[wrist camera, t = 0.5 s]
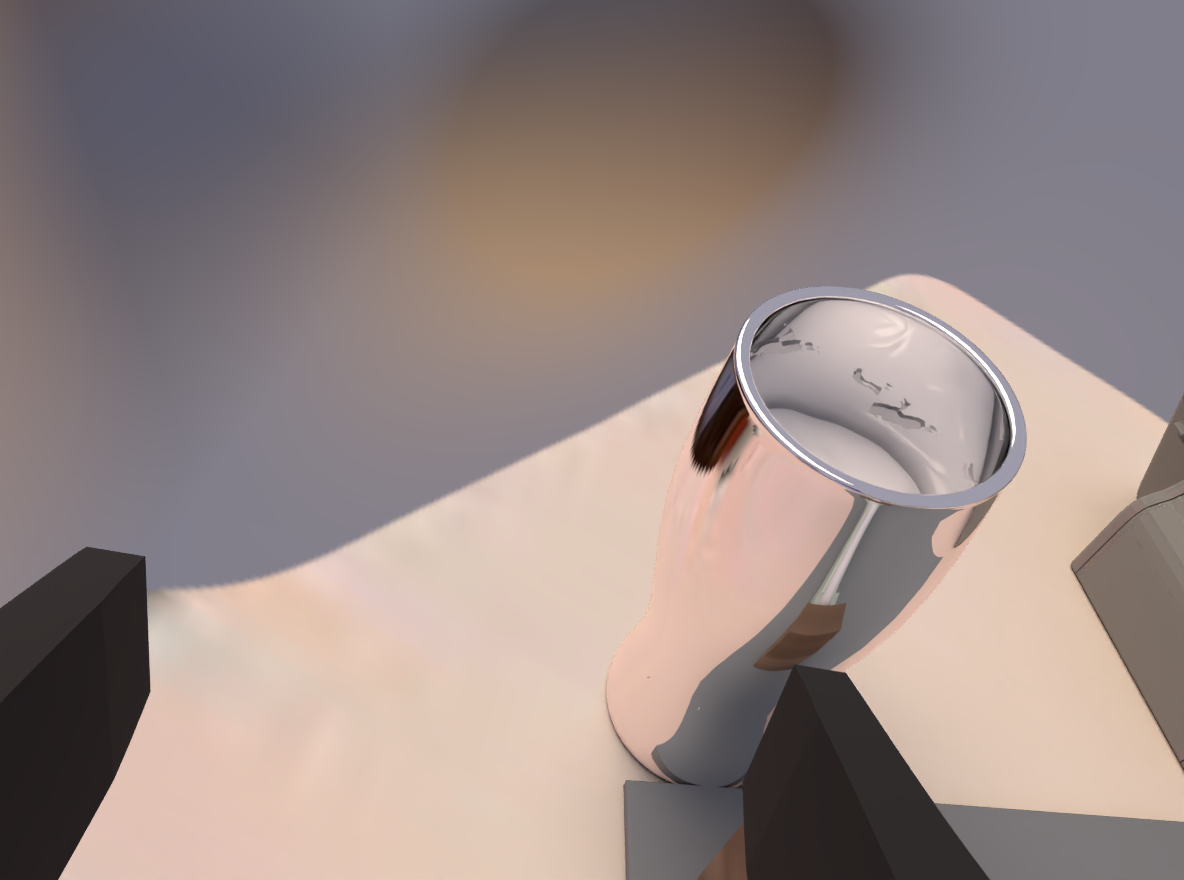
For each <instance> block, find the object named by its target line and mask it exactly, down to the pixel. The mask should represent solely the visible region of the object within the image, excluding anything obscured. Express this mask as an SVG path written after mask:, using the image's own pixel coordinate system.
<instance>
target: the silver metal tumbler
mask: <svg viewBox="0 0 1184 880" xmlns="http://www.w3.org/2000/svg"><path fill="white" fill-rule="evenodd" d="M1026 443H1027V434H1026V426H1025V421H1024V416H1023V413H1022V410H1021V407H1020V404H1019V402H1018V400H1017V398H1016V396H1015V394H1014V392H1013V390H1012V388H1011V387H1010V385H1009V383H1008V382H1007V380H1006V379H1005V377H1004V376H1003V375H1002V373H1001V372H1000V371H999V369H998V368H997V367H996V366H995V365H994V364H993V362H992V361H991V360H990V359H989V358H988V357H987V356H986V355H985V354H984V353H983V352H982V351H981V350H980V349H979V348H978V347H977V346H976V345H974V344H973V343H972V342H971V341H970V340H968V339H967V338H966V337H965V336H963V335H962V334H961V333H959V332H958V331H957V330H955V329H954V328H952V327H951V326H949V325H948V324H946V323H945V322H943V321H941V320H940V319H938V318H936V317H935V316H933V315H931V314H929V313H927V312H925V311H923V310H921V309H919V308H917V307H915V306H913V305H910V304H908V303H906V302H903V301H901V300H898V299H895V298H892V297H889V296H886V295H883V294H879V293H875V292H871V291H867V290H862V289H856V288H849V287H839V286H814V287H806V288H800V289H795V290H791V291H788V292H785V293H782V294H779V295H777V296H775V297H773V298H771V299H769V300H767V301H766V302H764V303H763V304H762V305H760V306H759V307H757V308H756V309H755V310H754V311H753V312H752V313H751V314H750V315H749V316H748V318H747V319H746V321H745V322H744V324H743V325H742V327H741V329H740V331H739V334H738V337H737V340H736V343H735V344H734V346H733V348H732V350H731V352H730V354H729V356H728V358H727V360H726V361H725V363H724V365H723V367H722V369H721V370H720V372H719V374H718V376H717V377H716V379H715V381H714V383H713V385H712V387H711V389H710V391H709V393H708V394H707V396H706V398H705V400H704V402H703V404H702V406H701V408H700V410H699V412H698V414H697V416H696V418H695V421H694V423H693V425H692V427H691V430H690V432H689V434H688V436H687V438H686V441H685V443H684V445H683V447H682V450H681V453H680V456H679V458H678V461H677V464H676V467H675V470H674V473H673V476H672V479H671V481H670V484H669V488H668V491H667V496H666V500H665V505H664V510H663V515H662V520H661V524H660V530H659V537H658V544H657V552H656V559H655V568H654V577H653V586H652V593H651V599H650V604H649V607H648V610H647V612H646V614H645V616H644V617H643V619H642V620H641V621H640V622H639V623H638V624H637V625H636V626H635V627H634V628H633V630H632V631H631V632H630V633H629V634H628V635H627V636H626V638H625V639H624V640H623V642H622V643H621V644H620V646H619V647H618V649H617V651H616V653H615V655H614V657H613V659H612V661H611V664H610V667H609V671H608V675H607V683H606V696H607V705H608V710H609V714H610V717H611V720H612V723H613V725H614V728H615V730H616V732H617V734H618V735H619V737H620V739H621V740H622V742H623V743H624V745H625V746H626V748H627V749H628V750H629V751H630V753H631V754H632V755H633V756H634V757H635V758H636V759H637V760H638V761H639V762H640V763H641V764H642V765H644V766H645V767H646V768H647V769H649V770H650V771H651V772H653V773H654V774H656V775H657V776H659V777H661V778H663V779H665V780H667V781H669V782H671V783H673V784H684V785H697V786H708V787H724V788H735V787H738V786H741V785H743V780H744V778H745V775H746V773H747V771H748V768H749V766H750V764H751V762H752V759H753V757H754V755H755V752H756V750H757V748H758V746H759V743H760V741H761V739H762V737H763V734H764V732H765V730H766V727H767V725H768V723H769V721H770V718H771V716H772V714H773V711H774V709H775V707H776V705H777V702H778V700H779V698H780V695H781V693H782V691H783V689H784V686H785V684H786V682H787V680H788V677H789V675H790V673H791V670H792V668H793V666H794V664H796V665H802V666H808V667H814V668H821V669H827V670H833V671H839V672H845V671H846V670H847V669H849V668H850V667H852V666H853V665H855V664H856V663H857V662H859V661H860V660H862V659H863V658H864V657H866V656H867V655H869V654H870V653H871V652H872V651H873V650H875V649H876V648H877V647H878V646H879V645H881V644H882V643H883V642H884V641H885V640H887V639H888V638H889V637H890V636H891V635H893V634H894V633H895V632H896V631H897V630H899V629H900V628H901V627H902V626H903V625H904V624H905V623H906V622H907V621H908V620H909V618H910V617H911V616H912V615H913V614H914V613H915V612H916V611H917V610H918V609H919V607H920V606H921V605H922V604H923V603H924V602H925V601H926V600H927V599H928V598H929V597H930V595H931V594H932V593H933V592H934V591H935V589H936V588H937V587H938V585H939V584H940V583H941V581H942V580H943V579H944V578H945V576H946V575H947V574H948V572H949V571H950V570H951V568H952V567H953V566H954V564H955V563H956V562H957V560H958V559H959V557H960V556H961V555H962V553H963V551H964V550H965V548H966V547H967V545H968V544H969V542H970V541H971V539H972V538H973V536H974V535H975V533H976V532H977V530H978V529H979V527H980V526H981V524H982V523H983V521H984V519H985V518H986V516H987V515H988V513H989V511H990V510H991V508H992V507H993V505H994V503H995V502H996V500H997V499H998V497H999V496H1000V494H1001V493H1002V491H1003V490H1004V488H1005V487H1006V486H1007V485H1008V484H1009V483H1010V482H1011V481H1012V479H1013V478H1014V477H1015V475H1016V474H1017V472H1018V471H1019V469H1020V467H1021V464H1022V462H1023V459H1024V456H1025V451H1026Z"/></svg>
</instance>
